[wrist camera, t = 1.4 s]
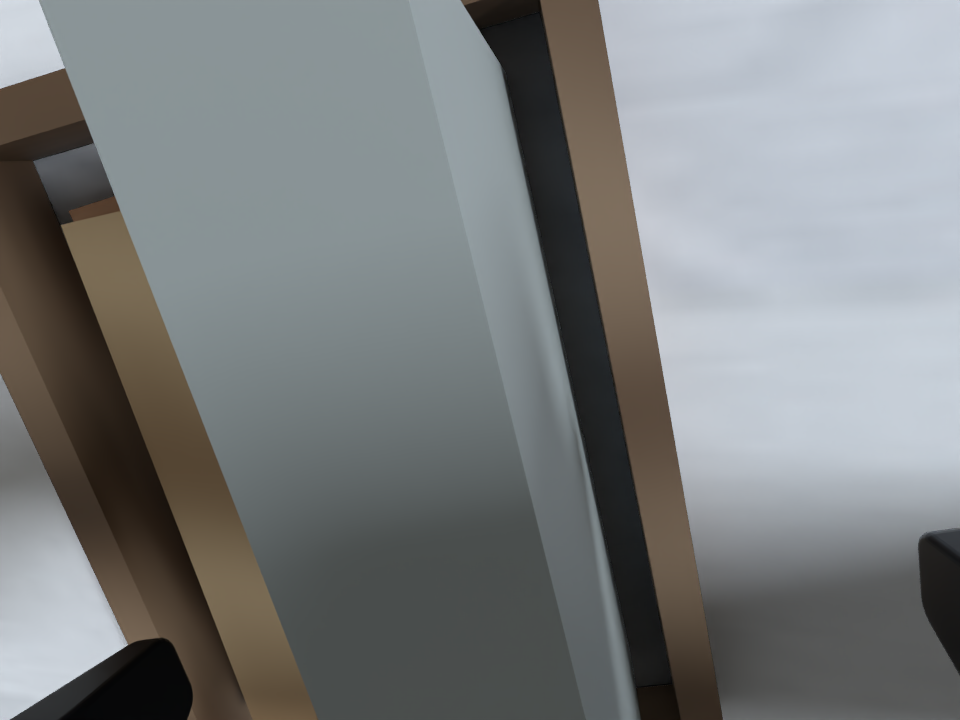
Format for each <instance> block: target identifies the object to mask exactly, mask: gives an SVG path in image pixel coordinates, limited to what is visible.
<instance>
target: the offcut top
mask: <svg viewBox="0 0 960 720" xmlns="http://www.w3.org/2000/svg"><path fill="white" fill-rule="evenodd" d="M61 227H62V230H63V232H64V235H65V238H66V240H67V243H68V245H69V248H70V250H71V253H72V256H73V258H74V261H75V263H76V266H77V269H78V271H79V274H80V276H81V279H82V281H83V284H84V287H85V289H86V292H87V294H88V297H89V299H90V302H91V305H92V307H93V310H94V312H95V315H96V317H97V320H98V323H99V325H100V328H101V330H102V333H103V335H104V338H105V341H106V343H107V346H108V348H109V351H110V354H111V356H112V359H113V361H114V364H115V366H116V369H117V372H118V374H119V377H120V379H121V382H122V384H123V387H124V390H125V392H126V395H127V397H128V400H129V402H130V405H131V408H132V410H133V413H134V415H135V418H136V420H137V423H138V426H139V428H140V431H141V433H142V436H143V439H144V441H145V444H146V446H147V449H148V451H149V454H150V457H151V459H152V462H153V464H154V467H155V469H156V472H157V475H158V477H159V480H160V482H161V485H162V487H163V490H164V493H165V495H166V498H167V500H168V503H169V505H170V508H171V511H172V513H173V516H174V518H175V521H176V524H177V526H178V529H179V531H180V534H181V536H182V539H183V542H184V544H185V547H186V549H187V552H188V554H189V557H190V560H191V562H192V565H193V567H194V570H195V572H196V575H197V578H198V580H199V583H200V585H201V588H202V590H203V593H204V596H205V598H206V601H207V603H208V606H209V609H210V611H211V614H212V616H213V619H214V621H215V624H216V627H217V629H218V632H219V634H220V637H221V639H222V642H223V645H224V647H225V650H226V652H227V655H228V657H229V660H230V663H231V665H232V668H233V670H234V673H235V675H236V678H237V681H238V683H239V686H240V688H241V691H242V694H243V696H244V699H245V701H246V704H247V706H248V709H249V712H250V714H251V717H252V719H253V720H318V718H317V715H316V713H315V710H314V707H313V705H312V702H311V700H310V697H309V695H308V692H307V689H306V687H305V684H304V682H303V679H302V677H301V674H300V671H299V669H298V666H297V664H296V661H295V659H294V656H293V653H292V651H291V648H290V646H289V643H288V641H287V638H286V635H285V633H284V630H283V628H282V625H281V622H280V620H279V617H278V615H277V612H276V610H275V607H274V604H273V602H272V599H271V597H270V594H269V592H268V589H267V586H266V584H265V581H264V579H263V576H262V574H261V571H260V568H259V566H258V563H257V561H256V558H255V556H254V553H253V550H252V548H251V545H250V543H249V540H248V538H247V535H246V532H245V530H244V527H243V525H242V522H241V520H240V517H239V514H238V512H237V509H236V507H235V504H234V501H233V499H232V496H231V494H230V491H229V489H228V486H227V483H226V481H225V478H224V476H223V473H222V471H221V468H220V465H219V463H218V460H217V458H216V455H215V453H214V450H213V447H212V445H211V442H210V440H209V437H208V435H207V432H206V429H205V427H204V424H203V422H202V419H201V417H200V414H199V411H198V409H197V406H196V404H195V401H194V398H193V396H192V393H191V391H190V388H189V386H188V383H187V380H186V378H185V375H184V373H183V370H182V368H181V365H180V362H179V360H178V357H177V355H176V352H175V350H174V347H173V344H172V342H171V339H170V337H169V334H168V332H167V329H166V326H165V324H164V321H163V319H162V316H161V314H160V311H159V308H158V306H157V303H156V301H155V298H154V295H153V293H152V290H151V288H150V285H149V283H148V280H147V277H146V275H145V272H144V270H143V267H142V265H141V262H140V259H139V257H138V254H137V252H136V249H135V247H134V244H133V241H132V239H131V236H130V234H129V231H128V229H127V226H126V223H125V221H124V218H123V216H122V213H121V211H118V212H114V213H110V214H106V215H101V216H97V217H93V218H88V219H84V220H80V221H75V222H71V223H67V224H62V225H61Z"/></svg>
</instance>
